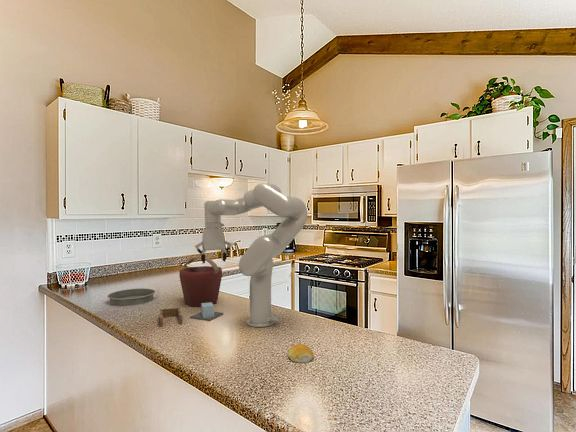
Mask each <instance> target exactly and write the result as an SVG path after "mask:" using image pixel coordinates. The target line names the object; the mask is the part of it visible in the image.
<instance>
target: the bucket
mask: <svg viewBox="0 0 576 432" xmlns="http://www.w3.org/2000/svg"><path fill="white" fill-rule="evenodd" d="M197 259H200V260H201V256H198V257H193V258H190V259H189V260H187V261H186V262H185V263H184V264H183V269H179V271H178V273H179V275H178V276H179V281H180V286H181V290H182V294H183V295H182V296H183V300H184V304H185V305H186V306H187V307H189V308H201V303H209V302H212V303H213V305H214V306H216V305H217V304H218V299H219V295H220V288H221V283H222V277H223V269H222V267H221V266H218V265H217V263H216V262H215V261H214V260H212V259H211V258H209V257H206V256H205V262H207V263H208V264H209V265H210V266H209V265H203V266H191V267H188V266H187V265H190V264H192V263H193V261H195V260H197Z"/></svg>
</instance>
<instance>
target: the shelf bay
mask: <svg viewBox="0 0 576 432" xmlns="http://www.w3.org/2000/svg"><path fill="white" fill-rule="evenodd" d="M176 316H177V318H178V322H179V325H183V314H182V311H181V307H173V308H163V309H159V326H160V327H161V328H163V327H164V318H168V317H176Z"/></svg>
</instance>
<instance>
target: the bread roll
mask: <svg viewBox="0 0 576 432" xmlns="http://www.w3.org/2000/svg"><path fill="white" fill-rule="evenodd" d="M287 356H288V359H290V360H291V361H292V362H294V363H298V364H299V363H301V364H303V363H310V362H311V361H312V360H313V359H314V356H315V355H314V351H312V350H311V349H310V347H309V346H308V345H306V344H301V343H298V344H294V345H293V346H291V347H290V348H289V350H288V352H287Z"/></svg>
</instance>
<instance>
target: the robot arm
mask: <svg viewBox="0 0 576 432" xmlns="http://www.w3.org/2000/svg"><path fill="white" fill-rule="evenodd" d="M203 206H204V207H203V208H204V209H203V210H204V229H203V230H202V238H201V242H199V243H198V244H195V246H194V247H195V249H196V251H197V253H199V255H200V257H201V259H200V260H201V261H200V262H202V264H205V263H206V260H205V257H206V252H207V251H218V250H219V251H222V261H223V262H226V260H227V253H228V251H230V249H231V247H232V243H231V242H229V241H227V240H225V236H224V230H223V229H222V227H224V226H225V223H222V218H221V216H237V215H241V214H246V213H248V212H250V211H253V210H255V209H259V208H262V207H264V208H265V209H267V210H268V211H270V212H271V213H273V214H274V215H276V216H278V217H282V218H285V219H284V220H283V221H282V222H280V224H279V225H278V226H277V227H276V228H275V229H274V231H272V233H270V234H264V235H261V236H258V237H257V238H256V239H255V240H254V241H253V242H252V243H251V244H250V246H249V247H248V248H247V249H246V251H245V252H244V253H243V254H242V255H241V257H240V259H239V261H238V270H239V271H240V274H242V275H244V276H246V277H249V278H250V280H249V318H247V319H246V320H245V323H246V325H247V326H249V327H252V328H265V327H270V326H271V327H272V325H274V324H275V322H277V323H278V322H279V321H280V316H278V315H274V312H273V311H272V275H273V268H274V259H273V258H275V257H278V256H280V255H281V254H282V253H283V252H284V251H285V250H286V248H287V247H288V246H289V245H290V244H291V242H293V240H294V239H295V238H296V236H298V234H299V233H300V232H301V231H302V229H303V227H305V224H306V223H307V221H308V220H307V219H308V208H307V205H306V203H305V202H304V201H303V200H302V198H301V199H300V198H298V197H295V196H286V195H284V194H283V193H282V190H281V188H280V187H279V186H278V185H277V184H274V183H267V182H261V183H258V184H256V185H255V186H254V187H253V189H251V190H247V191H245V192H244V194H243V196H242V197H240V198H236V199H223V198H220V199H216V200H206V201H205V202H204V205H203ZM225 245H227V247H226V248H225ZM201 246H202V250H201V249H200V247H201Z"/></svg>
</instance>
